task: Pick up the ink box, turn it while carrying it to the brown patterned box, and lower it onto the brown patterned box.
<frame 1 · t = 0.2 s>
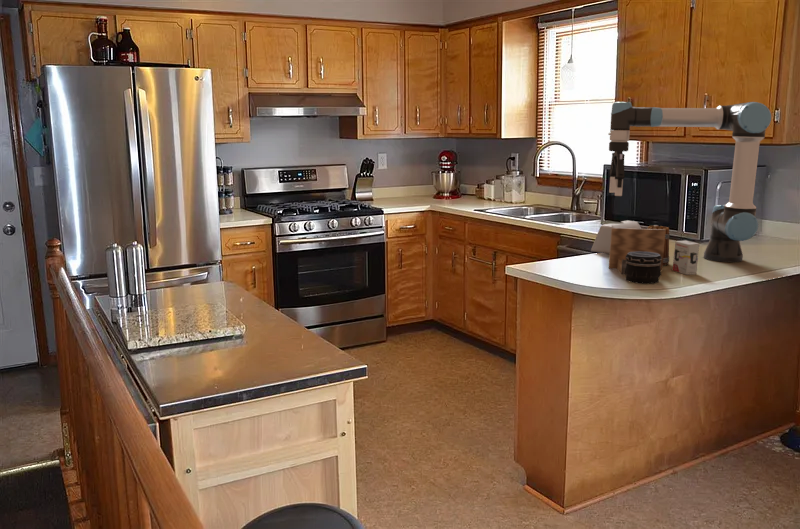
hand: (615, 194, 291), 28 cm above the countertop, fingers open, 13 cm apart
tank: (620, 251, 322), on the countertop
ink box: (684, 272, 276), on the countertop
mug: (654, 262, 295), on the countertop
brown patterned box: (635, 269, 280), on the countertop
container: (641, 281, 260), on the countertop
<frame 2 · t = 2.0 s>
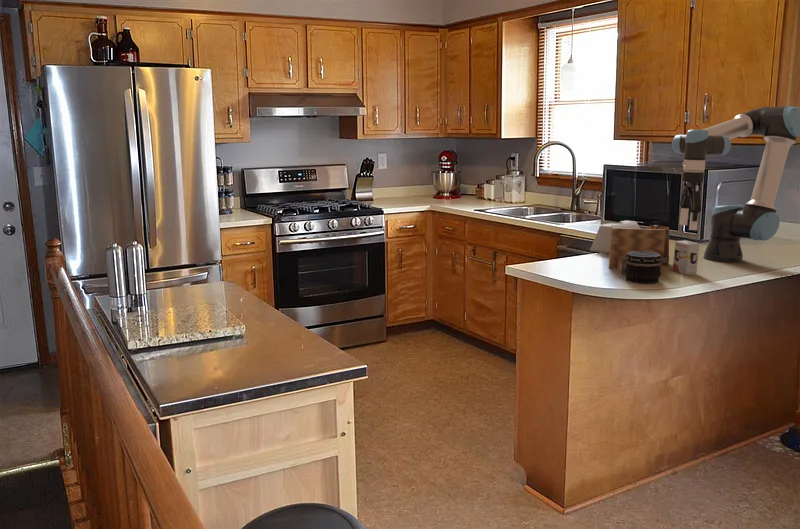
hand: (688, 227, 272), 17 cm above the countertop, fingers open, 13 cm apart
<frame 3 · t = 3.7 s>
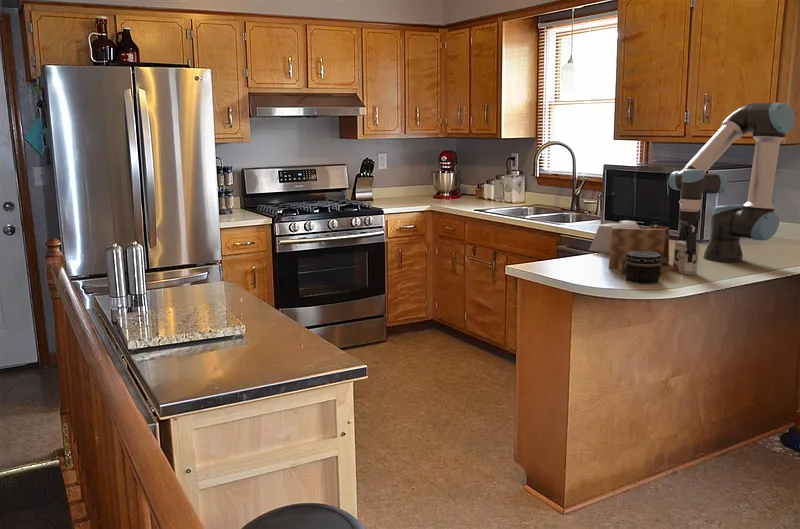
hand: (684, 268, 275), 2 cm above the countertop, fingers closed on ink box, 9 cm apart
ink box: (684, 272, 276), on the countertop, touching gripper
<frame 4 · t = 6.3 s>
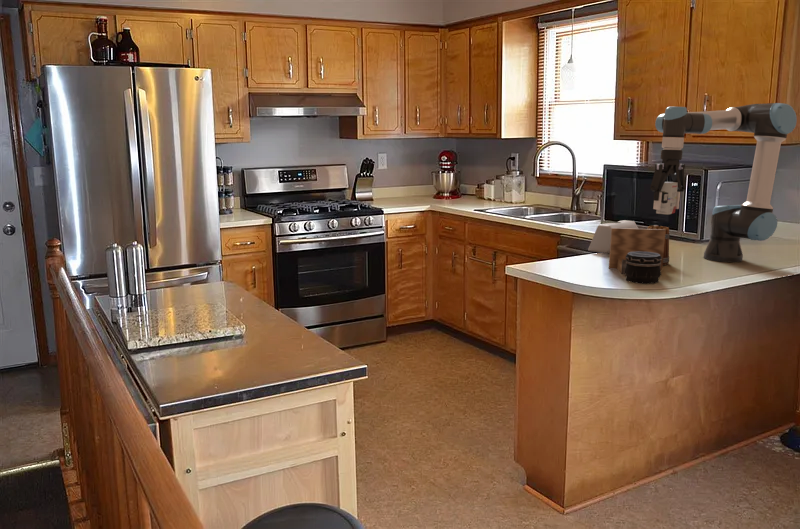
hand: (665, 209, 270), 24 cm above the countertop, fingers closed on ink box, 9 cm apart
ink box: (665, 213, 271), point 23 cm above the countertop, touching gripper
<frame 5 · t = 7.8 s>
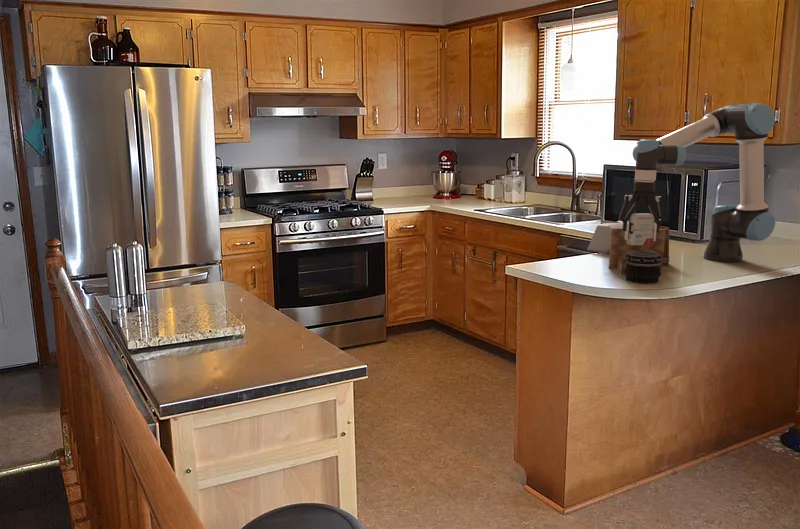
hand: (639, 240, 272), 12 cm above the countertop, fingers closed on ink box, 9 cm apart
ink box: (639, 244, 273), point 11 cm above the countertop, touching gripper
when the fingers open (7 cm above the countertop, at t = 9.2 s): ink box drops 1 cm, resting on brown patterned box.
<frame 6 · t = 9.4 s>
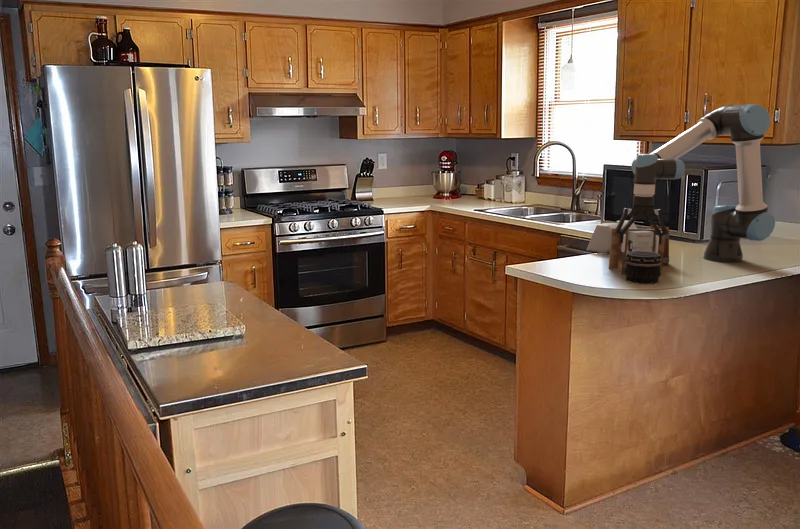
hand: (639, 252, 273), 8 cm above the countertop, fingers open, 11 cm apart
ink box: (638, 262, 274), point 4 cm above the countertop, touching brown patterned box
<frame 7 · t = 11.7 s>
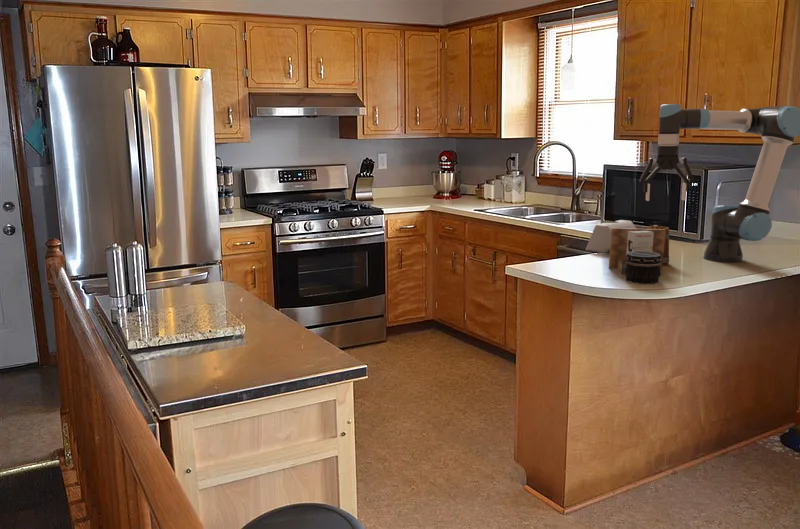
hand: (665, 200, 279), 27 cm above the countertop, fingers open, 13 cm apart
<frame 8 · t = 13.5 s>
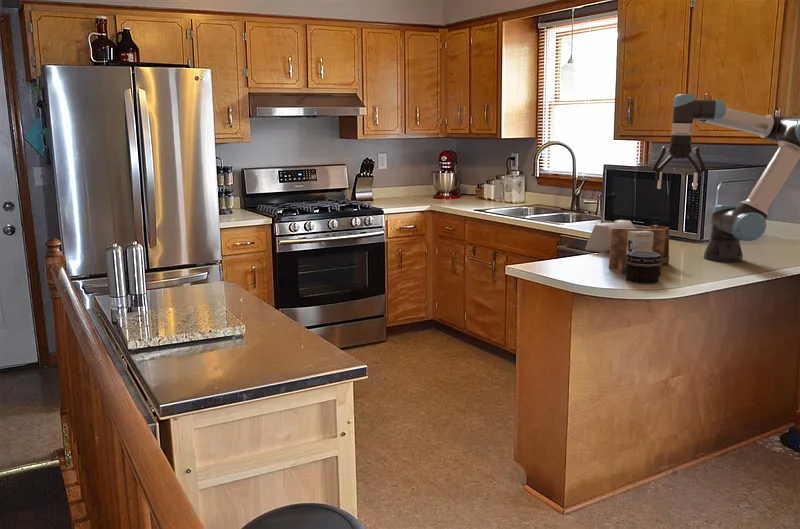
hand: (676, 189, 284), 31 cm above the countertop, fingers open, 13 cm apart
at the end: ink box inside the target area on the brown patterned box (0.5 cm from its centre), point 3.8 cm above the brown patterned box's base; ink box tilted 0°; the gripper is holding nothing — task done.
